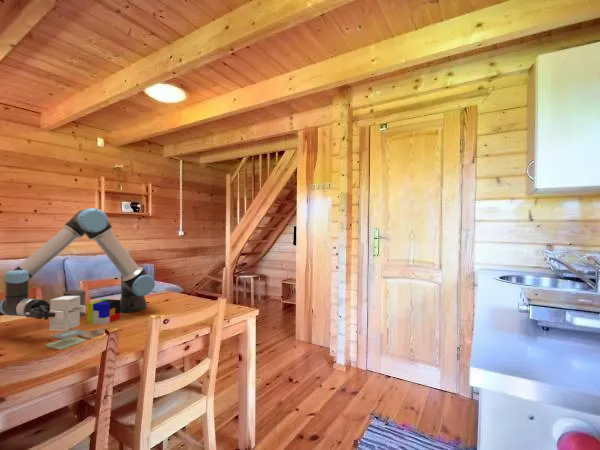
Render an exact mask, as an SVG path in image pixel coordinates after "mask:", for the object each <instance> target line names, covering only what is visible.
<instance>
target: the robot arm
mask: <svg viewBox="0 0 600 450" xmlns="http://www.w3.org/2000/svg"><path fill="white" fill-rule="evenodd" d="M112 229H113V226H112V224H111V223H110V221H109V218H108V215H107V214H106V212H104V211H103V210H101V209H99V208H94V207H91V208H90V207H89V208H86V209H82V210H79V211H77V212H76V213H75V214H74V215H73V216H72V218H71V219H69V220H68V221H67V222H66V223H65V224H64V225H63V228H62V229H61V230H59V232H58V233H55V235H54V236H52V237H51V238H50V239H48V240H47V242H46V243H44V244H43V245H41V247H39V248H38V249H37V250H36V251H34V253H32V254H31V255H30V256H28V257H27V258H26V259H25V260H23V261H22V262H21V263H20V264H19V265H18V266H17V267H15V268H14V269H13V270H10V271H9V270H8V271H7V272H5V275H4V278H3V284H4V286H5V288H4V291H5V292H4V293H5V296H4V298H3V299H2V300H1V301H0V313H1V314H4V315H7V316H11V317H12V316H17V317H25V318H27V319H29V318H33V319H37V320H42V319H43V318H44V321H47V320H49V319H50V318H58V319H63V315H64V312H63V311H53V310H51V311H50V303H49V302H47V300H45V299H37V298H29V288H30V287H29V285H30V284H29V282H30V280H31V279H32V278H33V277H34V276H35V275H36V274H37V273H39V272H40V271H41V270H42V269H43V268H45V266H47V265H48V264H49V263H50V262H51V261H52V260H53V259H54V258H56V257H57V256H58V255H60V254H61V253H62V252H63V251H64V250H65V249H67V247H68V246H70V245H71V244H72V243H73V242H74V241H75V240H77V239H79V238H82V237H83V236H84V235H86V237H87V238H88V239H89V240H93V241H95V242H96V243H97V245H98V246H99V247H100V249H101V250H102V251H103V253H104V254H105V255H106V257H107V258H108V259H109V260H110V261H111V263H112V264H113V265H114V267H115V268H116V269H117V270H118V271H119V273H120V283H121V284H120V299H119V300H120V313H134V312H140V311H143V310H146V309H147V308H148V304H147V301H146V298H145V296H148V295H149V294H151V292H153V291H154V289H155V286H156V281H155V279H154V277H152V276H151V275H150V274H149V273H148V272H147V271H146V270H145V269H144V267H142V266H139V265H138V264H137V263H136V262H135V259H133V257H132V256H131V255H130V253H129V252H128V251H127V250H126V248H125V247H124V246H123V244H122V243H121V242H120V240H119V239H118V238H117V237H116V235H115V234H114V232H113V231H112ZM86 306H87V305H85V306H83V305H80V312H83V313H84V312H85V313H86V312H87V311H86V309H87V307H86Z"/></svg>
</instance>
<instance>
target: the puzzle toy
mask: <svg viewBox="0 0 600 450" xmlns="http://www.w3.org/2000/svg"><path fill="white" fill-rule="evenodd" d="M120 319H121V312H120V299H113V298H112V299H111V298H110V299H109V298H104V299H100V300H95V301H92V302H89V303H87V319H86V320H87V322H86V323H87V324H90V325H106V324H109V323H112V322H114V321H117V320H120Z"/></svg>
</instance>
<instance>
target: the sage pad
mask: <svg viewBox="0 0 600 450" xmlns="http://www.w3.org/2000/svg"><path fill="white" fill-rule="evenodd" d="M87 340H88V339H85V338H81V337H76V336H73V337H69V338H66V339H63V340H62V339H59V340H56V341H53V342H51V343H50V342H49V343H46V344H45V347H47V348H50V349H54V350H57V351H62V350H65V349H69V348H70V346H71V347H74V346H77V345H80V344H82V343H81V342H84V341H87ZM79 343H80V344H79ZM84 343H85V342H84ZM76 344H77V345H76ZM73 345H74V346H73ZM61 349H62V350H61Z"/></svg>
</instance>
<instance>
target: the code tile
mask: <svg viewBox="0 0 600 450" xmlns="http://www.w3.org/2000/svg"><path fill="white" fill-rule="evenodd" d="M86 332H87V331H85V330H80V329H77V328H71V329H69V330H67V331H61V332H58V333H55V334H50V337H52V338H56V339H59V340H63V339H66V338H69V337H76V336H77V337H78V335H79V334H83V333H86Z"/></svg>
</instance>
